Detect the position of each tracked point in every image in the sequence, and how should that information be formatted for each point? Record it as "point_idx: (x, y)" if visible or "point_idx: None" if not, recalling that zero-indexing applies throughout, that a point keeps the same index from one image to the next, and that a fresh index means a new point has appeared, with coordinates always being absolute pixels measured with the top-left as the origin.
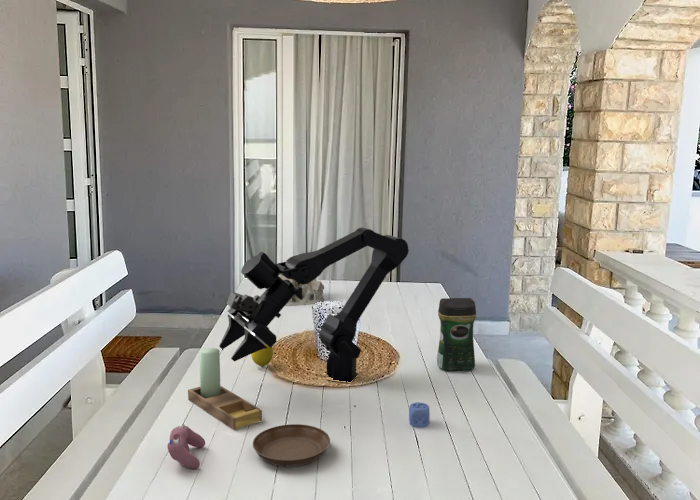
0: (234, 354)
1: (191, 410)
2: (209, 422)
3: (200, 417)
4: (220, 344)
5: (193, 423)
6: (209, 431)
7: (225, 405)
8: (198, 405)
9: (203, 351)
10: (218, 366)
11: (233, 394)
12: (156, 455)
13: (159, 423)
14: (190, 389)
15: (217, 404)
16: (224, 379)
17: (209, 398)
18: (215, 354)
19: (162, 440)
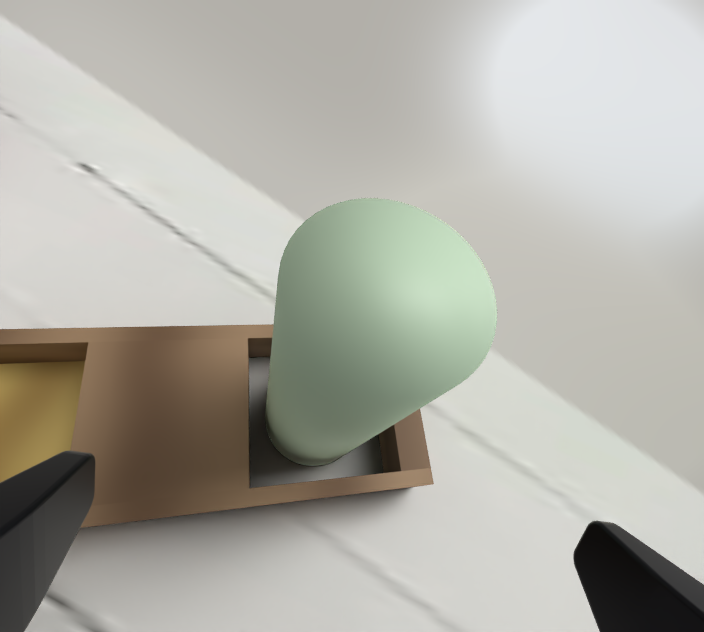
0: (2, 489)
1: None
2: (99, 308)
3: (180, 302)
4: (618, 536)
5: (145, 257)
6: (12, 268)
7: (81, 384)
8: None
9: (407, 237)
10: (287, 394)
11: (195, 502)
12: (5, 76)
13: (238, 178)
14: None
15: (128, 354)
16: (568, 617)
17: (237, 356)
18: (280, 309)
19: (97, 129)
